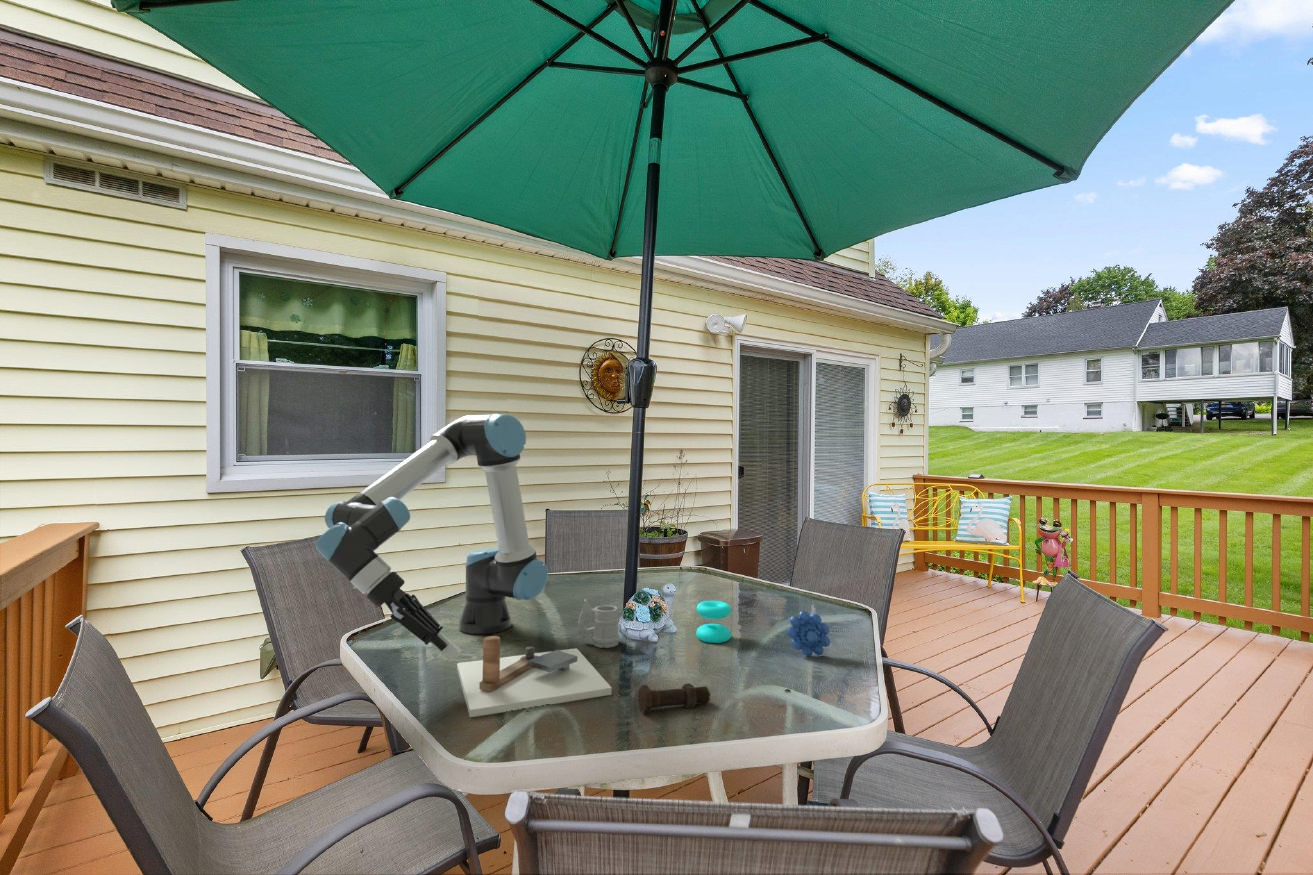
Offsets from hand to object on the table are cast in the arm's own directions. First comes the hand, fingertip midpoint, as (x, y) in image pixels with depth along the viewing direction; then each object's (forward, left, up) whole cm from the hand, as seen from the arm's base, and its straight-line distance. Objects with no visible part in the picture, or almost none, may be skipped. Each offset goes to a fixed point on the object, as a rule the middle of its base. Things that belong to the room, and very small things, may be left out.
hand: (456, 656), depth 132 cm
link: (0, +12, -6) cm, 13 cm away
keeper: (+2, +21, -8) cm, 23 cm away
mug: (-19, +39, -8) cm, 45 cm away
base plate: (+1, +16, -8) cm, 18 cm away
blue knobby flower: (+12, +87, -8) cm, 88 cm away
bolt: (+26, +42, -8) cm, 50 cm away
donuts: (-11, +71, -8) cm, 73 cm away
